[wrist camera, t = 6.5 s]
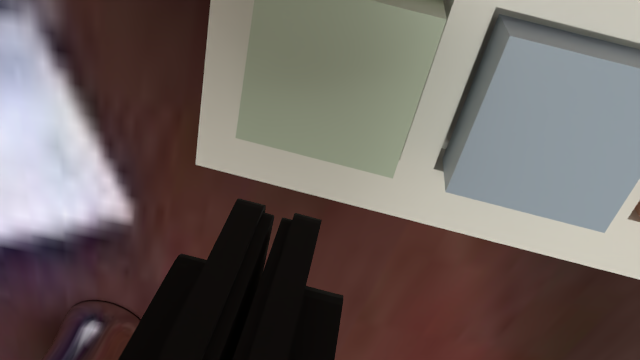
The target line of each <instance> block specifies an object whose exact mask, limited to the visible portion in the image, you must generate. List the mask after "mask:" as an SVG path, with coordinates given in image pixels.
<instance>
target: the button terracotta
mask: <svg viewBox="0 0 640 360" xmlns="http://www.w3.org/2000/svg"><path fill="white" fill-rule="evenodd" d="M635 210H636V212H637V213H638V215H639V217H640V201H639V202H638V204H637V205H636V207H635Z"/></svg>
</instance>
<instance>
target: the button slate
mask: <svg viewBox="0 0 640 360" xmlns="http://www.w3.org/2000/svg"><path fill="white" fill-rule="evenodd" d="M443 170H444V181H445V192H447V193H451V194H455V195H459V196H463V197H466V198H470V199H474V200H478V201H482V202H486V203H490V204H494V205H498V206H501V207H505V208H509V209H513V210H517V211H521V212H525V213H529V214H532V215H536V216H540V217H544V218H548V219H552V220H556V221H560V222H564V223H567V224H571V225H575V226H579V227H583V228H587V229H591V230H595V231H598V232H602V233H605V231H606V230H607V228H608V227H609V225H610V224H611V222H612V221H613V219H614V217H615V216H616V214H617V213H618V211H619V210H620V208H621V207H622V205H623V204H624V202H625V200H626V199H627V197H628V196H629V194H630V193H631V191H632V190H633V188H634V187H635V185H636V183H637V182H638V180H639V179H640V49H636V48H632V47H628V46H624V45H620V44H616V43H612V42H608V41H604V40H600V39H596V38H592V37H588V36H584V35H580V34H576V33H573V32H569V31H565V30H561V29H557V28H553V27H549V26H545V25H541V24H537V23H533V22H529V21H525V20H521V19H517V18H513V17H509V16H505V15H501V14H499V16H498V18H497V21H496V23H495V26H494V28H493V31H492V34H491V36H490V39H489V41H488V44H487V46H486V49H485V51H484V54H483V57H482V59H481V62H480V64H479V67H478V69H477V72H476V74H475V77H474V79H473V82H472V85H471V87H470V90H469V92H468V95H467V97H466V100H465V102H464V105H463V108H462V110H461V113H460V115H459V118H458V120H457V123H456V125H455V128H454V130H453V133H452V136H451V138H450V141H449V143H448V146H447V148H446V151H445V153H444V156H443Z"/></svg>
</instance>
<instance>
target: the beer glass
mask: <svg viewBox="0 0 640 360" xmlns="http://www.w3.org/2000/svg"><path fill="white" fill-rule="evenodd" d="M139 322H140V320H139V319H138V318H137V317H136V316H135V315H133V314H132V313H130V312H129V311H127V310H125V309H124V308H122V307H119V306H117V305H114V304H111V303H107V302H102V301H87V302H82V303H79V304H77V305H75V306H74V307H73V308H71V309H70V310H69V311H68V313H67V314H66V316H65V318H64V320H63V322H62V324H61V326H60V328H59V330H58V333H57V335H56V337H55V339H54V341H53V343H52V345H51V347H50V348H49V350H48V351H47V353H46V354H45V356H44V357H43V358H42V359H41V360H118V359H119V357H120V355H121V354H122V352H123V350H124V348H125V347H126V345H127V343H128V341H129V340H130V338H131V336H132V334H133V333H134V331H135V329H136V328H137V326H138V324H139Z"/></svg>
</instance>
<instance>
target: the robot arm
mask: <svg viewBox="0 0 640 360" xmlns="http://www.w3.org/2000/svg"><path fill="white" fill-rule="evenodd" d="M265 207H266V206H265V205H262V204H258V203H254V202H250V201H246V200H242V199H237V201H236V203H235V205H234V207H233V209H232V211H231V213H230V215H229V217H228V219H227V221H226V223H225V225H224V227H223V229H222V231H221V233H220V235H219V237H218V239H217V241H216V243H215V245H214V247H213V249H212V251H211V253H210V255H209V257H208V259H207V260H204V259H200V258H196V257H192V256H188V255H185V254H180V255H179V256H178V257H177V259H176V260H175V261H174V263H173V265H172V267H171V268H170V270H169V272H168V274H167V275H166V277H165V279H164V281H163V282H162V284H161V286H160V288H159V289H158V291H157V293H156V294H155V296H154V298H153V300H152V301H151V303H150V305H149V307H148V308H147V310H146V312H145V314H144V315H143V317H142V319H141V321H140V322H139V324H138V326H137V328H136V329H135V331H134V333H133V334H132V336H131V338H130V340H129V341H128V343H127V345H126V347H125V348H124V350H123V352H122V354H121V355H120V357H119V359H118V360H334V358H335V352H336V345H337V338H338V332H339V325H340V318H341V312H342V305H343V295H339V294H335V293H331V292H327V291H323V290H319V289H316V288H312V287H308V286H306V283H307V278H308V274H309V270H310V266H311V262H312V258H313V254H314V249H315V245H316V241H317V237H318V233H319V229H320V225H321V220H320V219H316V218H312V217H308V216H304V215H301V214H297V213H295V214H294V217H293V220H290V219H286V218H282V220H281V222H280V225H279V228H278V231H277V234H276V237H275V240H274V242H273V245H272V248H271V251H270V254H269V257H268V260H267V262H266V265H265V260H266V255H267V250H268V245H269V240H270V235H271V230H272V225H273V220H274V215H271V214H267V213H265ZM264 265H265V268H264ZM263 269H264V271H263Z"/></svg>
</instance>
